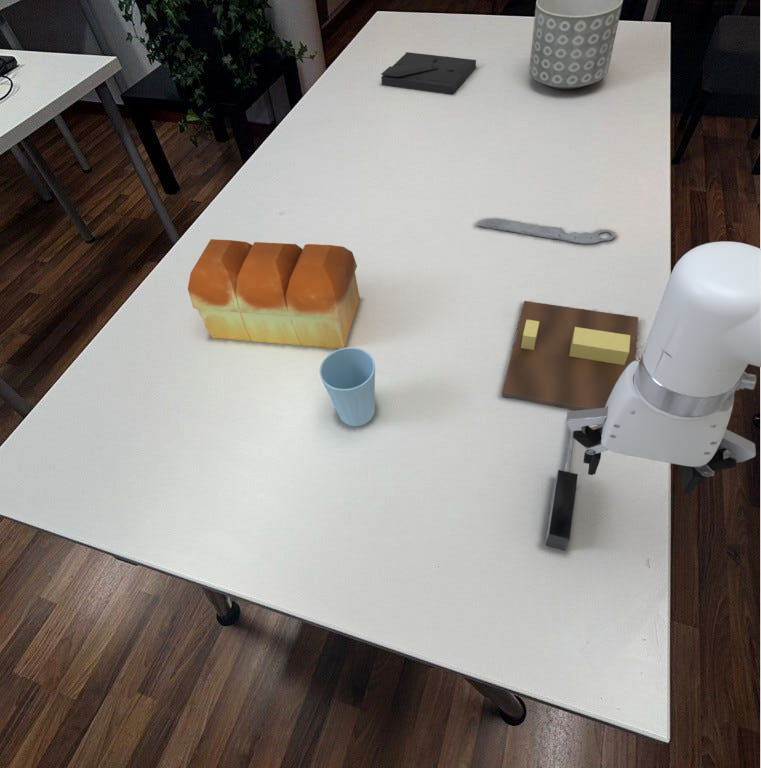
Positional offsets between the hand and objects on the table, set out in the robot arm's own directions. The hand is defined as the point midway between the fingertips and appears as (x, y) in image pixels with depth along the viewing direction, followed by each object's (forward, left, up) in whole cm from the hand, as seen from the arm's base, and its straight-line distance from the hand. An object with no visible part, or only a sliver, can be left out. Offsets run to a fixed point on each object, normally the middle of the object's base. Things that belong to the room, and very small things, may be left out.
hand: (637, 473), depth 62 cm
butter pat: (+15, -26, -10) cm, 32 cm away
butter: (+4, -26, -10) cm, 29 cm away
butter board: (+8, -25, -11) cm, 29 cm away
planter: (+19, -117, -11) cm, 120 cm away
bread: (+56, -23, -11) cm, 62 cm away
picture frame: (+55, -117, -11) cm, 130 cm away
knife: (+16, -56, -11) cm, 60 cm away
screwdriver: (+7, -3, -11) cm, 13 cm away
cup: (+37, -7, -11) cm, 40 cm away
